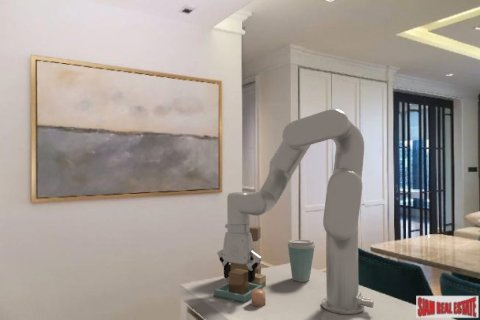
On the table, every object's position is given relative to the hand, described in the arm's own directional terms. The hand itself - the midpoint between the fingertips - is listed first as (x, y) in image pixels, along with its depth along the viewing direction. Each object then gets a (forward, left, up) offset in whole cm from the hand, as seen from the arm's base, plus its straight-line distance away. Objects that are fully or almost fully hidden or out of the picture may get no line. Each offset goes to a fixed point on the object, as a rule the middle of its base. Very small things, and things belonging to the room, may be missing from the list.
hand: (239, 279), depth 118 cm
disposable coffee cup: (-12, -26, -5) cm, 29 cm away
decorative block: (+7, -16, -5) cm, 18 cm away
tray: (0, 0, -5) cm, 5 cm away
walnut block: (0, 0, -5) cm, 5 cm away
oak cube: (-2, -10, -5) cm, 11 cm away
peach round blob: (-10, +4, -5) cm, 12 cm away
